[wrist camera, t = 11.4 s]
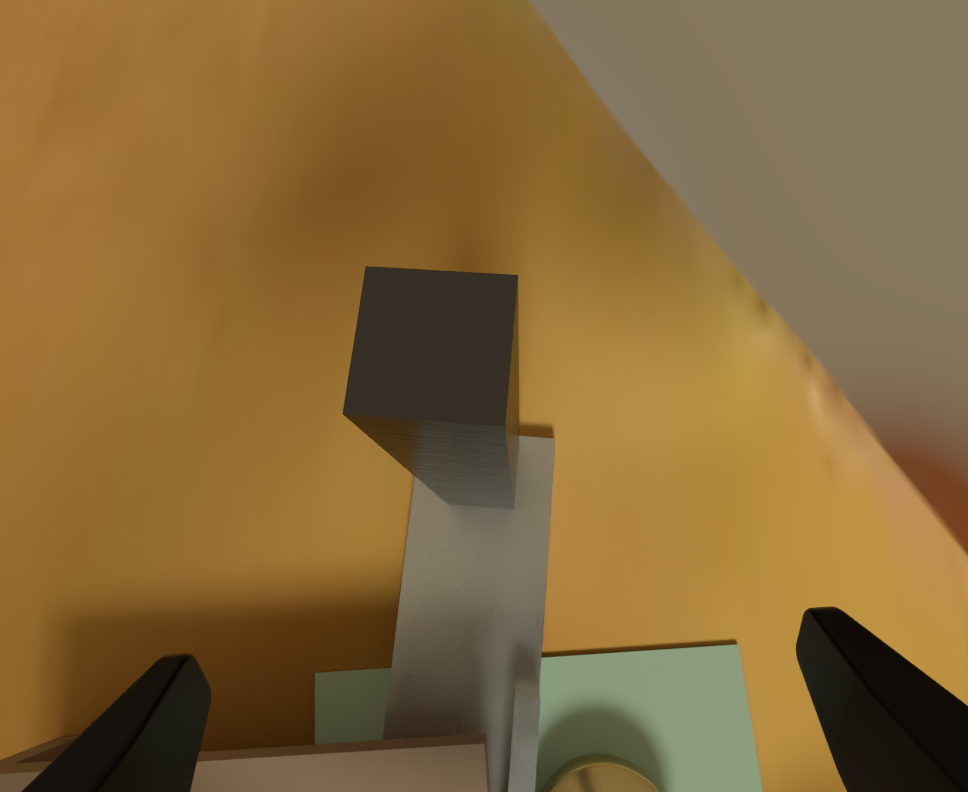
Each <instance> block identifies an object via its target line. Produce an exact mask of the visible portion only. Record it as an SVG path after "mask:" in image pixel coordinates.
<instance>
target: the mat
mask: <svg viewBox="0 0 968 792" xmlns="http://www.w3.org/2000/svg"><path fill="white" fill-rule="evenodd" d="M390 674H391V668H378V669H363V670H349V671H334V672H319V673H315V744H330V743H345V742H361V741H377V740H383V731H384V723H385V715H386V707H387V699H388V690H389V682H390ZM539 692H540V698H541V702H540V718H539V735H538V751H537V767H536V783H535V792H542V790H543V788H544V786H545V784H546V783H547V781H548V780H549V778H550V777H551V776H552V775H553V774H554V773H555V771H557V770H558V769H559V768H560V767H561V766H562V765H564V764H566V763H567V762H569V761H571V760H573V759H575V758H577V757H581V756H584V755H589V754H607V755H613V756H616V757H619V758H622V759H624V760H626V761H629V762H631V763H632V764H634V765H635V766H637V767H638V768H639V769H641V770H642V771H643V772H644V773H645V774H646V775H647V776H648V777H649V778H650V779H651V780H652V781H653V782H654V784H655V785H656V787H657V788H658V789H659V791H660V792H763V789H762V783H761V777H760V771H759V765H758V759H757V753H756V747H755V741H754V735H753V729H752V724H751V718H750V712H749V706H748V700H747V694H746V688H745V682H744V676H743V670H742V664H741V658H740V652H739V646H738V644H731V645H717V646H702V647H687V648H672V649H658V650H643V651H628V652H614V653H599V654H584V655H569V656H555V657H541V673H540V689H539Z"/></svg>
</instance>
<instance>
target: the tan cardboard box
mask: <svg viewBox="0 0 968 792" xmlns="http://www.w3.org/2000/svg"><path fill="white" fill-rule="evenodd" d="M77 737H78V736H67V737H59V738H56V739H54V740H51V741H49V742H46V743H43V744H41V745H38V746H36V747H33V748H31V749H28V750H25V751H23V752H20V753H18V754H15V755H13V756H10V757H7V758H5V759H2V760H0V792H21V791H22V790H23V789H24V788H25V787H26V786H27V785H28V784H29V783H30V782H31V781H32V780H34V779H35V778H36V777H37V776H38V775H39V774H40V773H41V772H42V771H43V770H44V769H45V768H46V767H47V766H48V765H49V764H50V763H51V762H52V761H53V760H54V759H55V758H56V757H57V756H58V755H60V754H61V753H62V752H63V751H64V750H65V749H66V748H67V747H68V746H69V745H70V744H71V743H72V742H73V741H74V740H75V739H76V738H77ZM190 792H490V782H489V767H488V751H487V736H486V734H471V735H455V736H439V737H424V738H408V739H392V740H377V741H361V742H345V743H330V744H314V745H298V746H282V747H267V748H251V749H235V750H220V751H204V752H199V756H198V760H197V764H196V769H195V773H194V778H193V782H192V787H191V791H190Z"/></svg>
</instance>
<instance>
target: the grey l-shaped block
mask: <svg viewBox="0 0 968 792" xmlns="http://www.w3.org/2000/svg"><path fill="white" fill-rule="evenodd" d="M343 415H345V416H346V417H347V418H348V419H349V420H350V421H352V422H353V423H354V424H355V425H356V426H357V427H358V428H360V429H361V430H362V431H363V432H364V433H365V434H367V435H368V436H369V437H370V438H371V439H372V440H374V441H375V442H376V443H377V444H378V445H379V446H381V447H382V448H383V449H384V450H385V451H386V452H387V453H389V454H390V455H391V456H392V457H393V458H394V459H396V460H397V461H398V462H399V463H400V464H401V465H403V466H404V467H405V468H406V469H407V470H408V471H410V472H411V473H412V474H413V475H414V476H415V477H414V486H413V494H412V502H411V510H410V518H409V526H408V535H407V543H406V551H405V559H404V567H403V576H402V584H401V592H400V600H399V608H398V617H397V625H396V633H395V641H394V649H393V658H392V666H391V674H390V682H389V690H388V699H387V707H386V715H385V723H384V731H383V740H392V739H408V738H424V737H439V736H455V735H471V734H486V736H487V751H488V767H489V782H490V792H535V783H536V767H537V751H538V735H539V718H540V702H541V698H540V692H539V689H540V673H541V657H542V641H543V625H544V609H545V593H546V577H547V561H548V545H549V529H550V513H551V497H552V481H553V466H554V450H555V439H554V438H541V437H529V436H519V346H518V275H507V274H489V273H472V272H455V271H438V270H420V269H403V268H386V267H369V266H366V269H365V275H364V282H363V288H362V294H361V301H360V307H359V313H358V320H357V326H356V332H355V339H354V345H353V352H352V358H351V364H350V371H349V377H348V383H347V390H346V396H345V402H344V409H343Z"/></svg>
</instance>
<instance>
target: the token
mask: <svg viewBox="0 0 968 792" xmlns="http://www.w3.org/2000/svg"><path fill="white" fill-rule="evenodd" d="M542 792H660V791H659V789H658V788H657V787H656V785H655V784H654V782H653V781H652V780H651V779H650V778H649V777H648V776H647V775H646V774H645V773H644V772H643V771H642V770H641V769H639V768H638V767H637V766H635V765H634V764H632V763H631V762H629V761H626V760H624V759H622V758H619V757H616V756H613V755H607V754H589V755H584V756H581V757H577V758H575V759H573V760H571V761H569V762H567V763H566V764H564V765H562V766H561V767H560V768H559V769H558V770H557V771H555V773H554V774H553V775H552V776H551V777H550V778H549V780H548V781H547V783H546V784H545V786H544V788H543V790H542Z"/></svg>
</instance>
